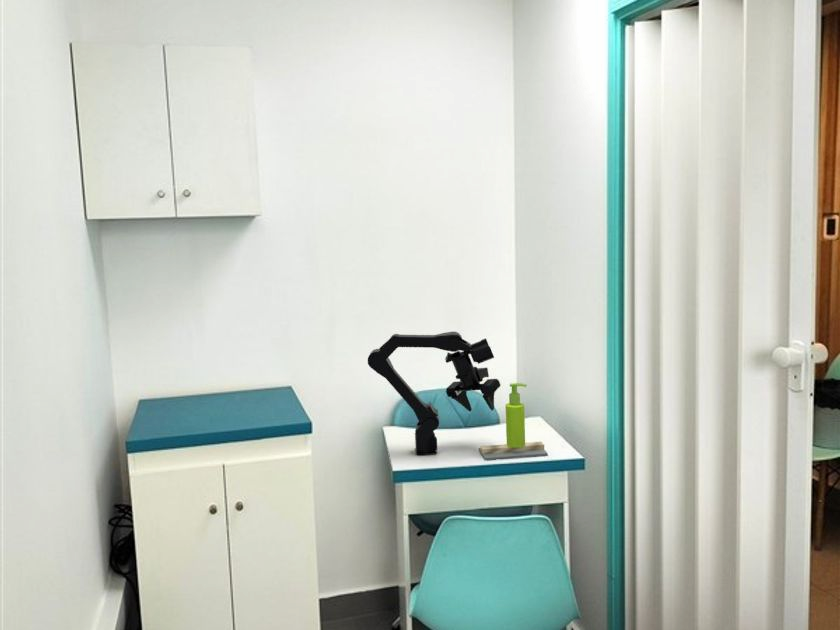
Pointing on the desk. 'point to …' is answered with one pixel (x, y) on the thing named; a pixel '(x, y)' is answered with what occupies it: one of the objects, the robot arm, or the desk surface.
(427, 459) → the desk surface
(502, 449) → the ridge
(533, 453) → the base board
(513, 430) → the soap dispenser
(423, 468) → the desk surface
